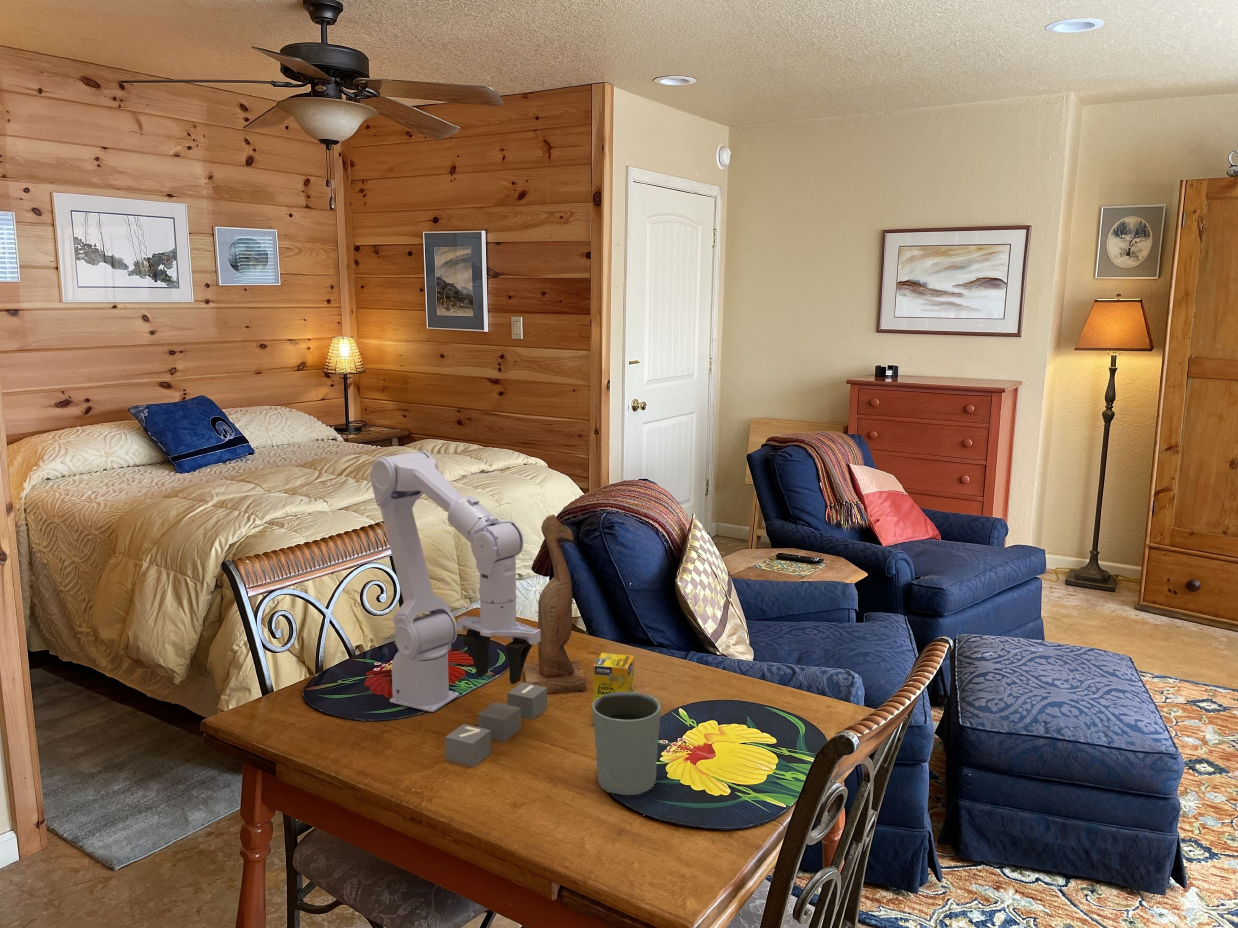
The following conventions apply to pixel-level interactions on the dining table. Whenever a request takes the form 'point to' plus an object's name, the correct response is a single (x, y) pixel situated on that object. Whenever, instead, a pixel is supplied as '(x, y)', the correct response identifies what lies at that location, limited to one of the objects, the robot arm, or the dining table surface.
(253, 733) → the dining table surface
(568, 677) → the bird sculpture
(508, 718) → the plain block
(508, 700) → the block one
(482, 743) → the block seven
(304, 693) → the dining table surface
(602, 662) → the supplement box
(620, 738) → the grey cup
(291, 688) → the dining table surface
